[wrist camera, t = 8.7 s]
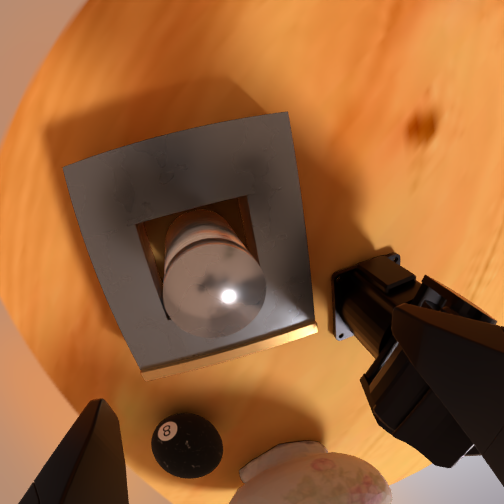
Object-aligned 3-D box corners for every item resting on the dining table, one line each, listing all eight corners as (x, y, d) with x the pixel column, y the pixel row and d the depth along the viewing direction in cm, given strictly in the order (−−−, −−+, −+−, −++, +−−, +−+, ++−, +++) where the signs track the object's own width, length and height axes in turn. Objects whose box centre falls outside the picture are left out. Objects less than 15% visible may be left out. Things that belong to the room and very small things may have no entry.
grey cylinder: (240, 265, 21) (273, 322, 14) (175, 283, 20) (180, 348, 14) (226, 200, 19) (257, 233, 13) (156, 219, 18) (149, 261, 12)
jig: (299, 308, 23) (317, 332, 20) (146, 351, 21) (145, 381, 18) (270, 115, 18) (289, 111, 15) (78, 162, 16) (60, 167, 13)
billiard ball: (193, 391, 24) (203, 447, 18) (226, 424, 26) (241, 474, 21) (137, 415, 23) (138, 469, 18) (175, 445, 26) (182, 493, 20)
